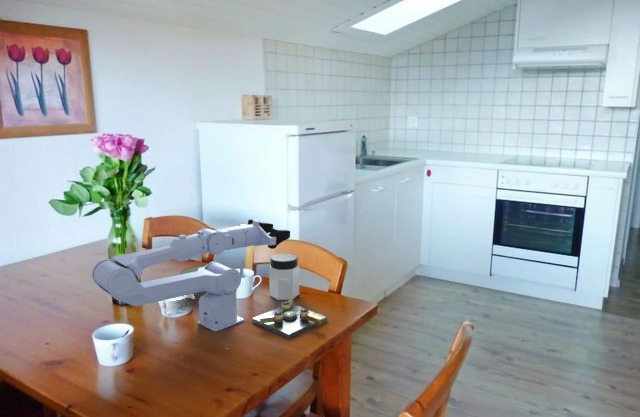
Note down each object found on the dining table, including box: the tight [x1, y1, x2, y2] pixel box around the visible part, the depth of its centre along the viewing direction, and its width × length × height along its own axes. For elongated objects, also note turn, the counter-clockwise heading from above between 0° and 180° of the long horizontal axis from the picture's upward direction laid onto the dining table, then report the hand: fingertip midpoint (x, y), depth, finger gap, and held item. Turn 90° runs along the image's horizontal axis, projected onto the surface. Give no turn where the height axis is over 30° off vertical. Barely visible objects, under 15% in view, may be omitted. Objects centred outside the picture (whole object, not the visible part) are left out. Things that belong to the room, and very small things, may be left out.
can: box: [180, 264, 208, 301], centre depth 156 cm, size 12×12×7 cm
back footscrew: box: [281, 299, 294, 312], centre depth 141 cm, size 6×2×2 cm, turn 167°
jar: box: [268, 253, 300, 301], centre depth 153 cm, size 9×8×12 cm
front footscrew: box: [300, 307, 323, 325], centre depth 133 cm, size 7×2×2 cm, turn 47°
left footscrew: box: [260, 311, 283, 324], centre depth 132 cm, size 6×2×2 cm, turn 107°
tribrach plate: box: [251, 303, 328, 340], centre depth 135 cm, size 14×14×3 cm
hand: (280, 230), depth 145 cm, fingers open, 7 cm apart
